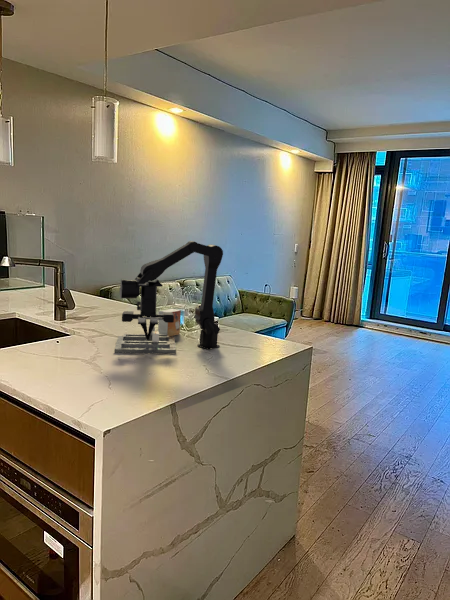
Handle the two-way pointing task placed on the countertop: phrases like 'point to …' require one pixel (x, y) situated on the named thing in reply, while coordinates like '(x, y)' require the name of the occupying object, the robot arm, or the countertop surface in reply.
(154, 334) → the block
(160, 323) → the small box
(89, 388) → the countertop surface
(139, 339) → the panel
